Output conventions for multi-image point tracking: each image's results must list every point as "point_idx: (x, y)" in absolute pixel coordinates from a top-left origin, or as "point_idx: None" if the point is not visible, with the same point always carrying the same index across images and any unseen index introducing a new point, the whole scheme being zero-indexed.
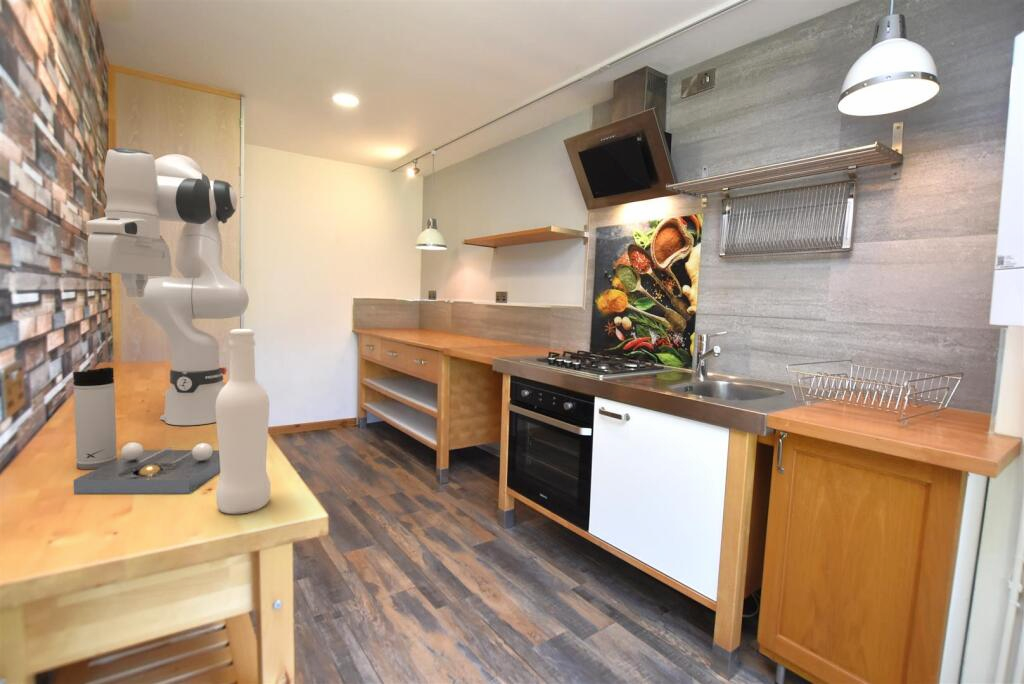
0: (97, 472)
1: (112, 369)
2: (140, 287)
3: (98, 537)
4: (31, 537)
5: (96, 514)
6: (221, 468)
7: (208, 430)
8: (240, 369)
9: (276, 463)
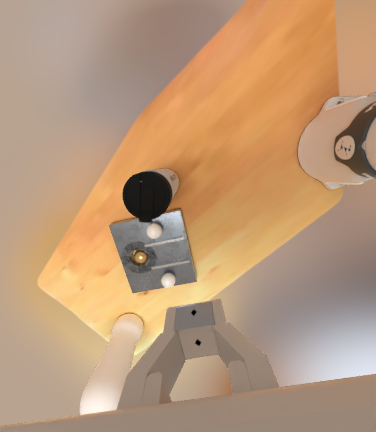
0: (125, 227)
1: (158, 216)
2: (219, 351)
3: (75, 284)
4: (63, 255)
5: (94, 261)
6: (109, 341)
7: (284, 193)
8: None
9: None
